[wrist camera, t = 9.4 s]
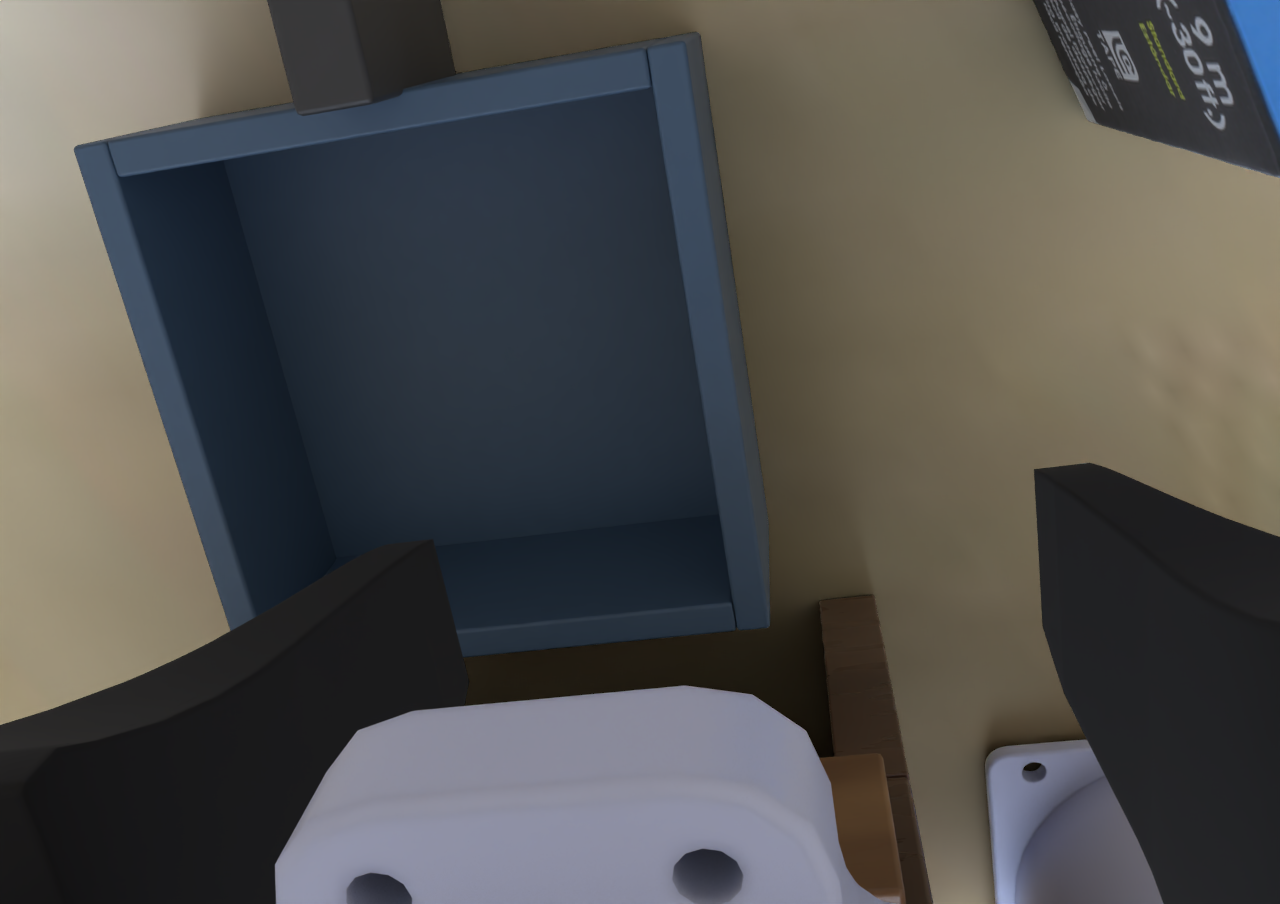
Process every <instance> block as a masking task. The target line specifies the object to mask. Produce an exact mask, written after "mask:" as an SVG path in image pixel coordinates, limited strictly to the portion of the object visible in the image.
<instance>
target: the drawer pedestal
mask: <svg viewBox="0 0 1280 904" xmlns="http://www.w3.org/2000/svg"><path fill="white" fill-rule="evenodd" d="M819 607H820V617H821V627H822V638H823V648H824V658H825V669H826V679H827V689H828V699H829V710H830V720H831V730H832V741H833V751H834V757H822V758H819V759H820V761H821V763H822V765H823V767H824V770H825V772H826V774H827V776H828V778H829V780H830V782H831V788H832V796H833V803H834V811H835V818H836V826H837V833H838V841H839V845H840V848H841V851H842V855H843V858H844V861H845V865H846V868H847V869H848V871H849V872H850V874H851V875H852V877H853V878H854V880H855V882H856V883H857V884H858V885H859V886H861V887H862V888H863V889H865V890H866V891H868V892H869V893H871V894H872V895H873V896H875V897H876V898H878V899H880V900H882V901H885V902H890V903H895V904H933V901H932V895H931V890H930V885H929V880H928V874H927V869H926V864H925V859H924V853H923V848H922V843H921V838H920V832H919V827H918V822H917V816H916V811H915V806H914V801H913V795H912V790H911V785H910V781H909V773H908V768H907V763H906V758H905V752H904V747H903V742H902V737H901V731H900V726H899V721H898V716H897V710H896V705H895V700H894V695H893V689H892V684H891V679H890V674H889V668H888V663H887V658H886V653H885V647H884V642H883V637H882V632H881V626H880V621H879V616H878V611H877V605H876V600H875V596H874V595H868V596H858V597H848V598H839V599H829V600H821V601H820V602H819Z"/></svg>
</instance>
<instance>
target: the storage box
mask: <svg viewBox="0 0 1280 904" xmlns="http://www.w3.org/2000/svg"><path fill="white" fill-rule="evenodd" d="M267 2H268V5H269V9H270V13H271V17H272V21H273V25H274V29H275V32H276V36H277V40H278V44H279V48H280V52H281V56H282V60H283V63H284V67H285V71H286V75H287V79H288V83H289V87H290V90H291V94H292V98H293V102H291V103H286V104H280V105H274V106H269V107H263V108H257V109H251V110H246V111H240V112H234V113H228V114H223V115H217V116H211V117H206V118H200V119H195V120H190V121H186V122H181V123H177V124H172V125H168V126H163V127H159V128H154V129H149V130H145V131H140V132H136V133H131V134H127V135H122V136H118V137H113V138H109V139H104V140H100V141H95V142H91V143H86V144H81V145H77V146H76V147H75V148H74V152H75V155H76V158H77V161H78V164H79V167H80V171H81V174H82V177H83V180H84V183H85V186H86V189H87V192H88V195H89V198H90V201H91V204H92V207H93V210H94V213H95V217H96V220H97V223H98V226H99V229H100V232H101V235H102V238H103V241H104V244H105V247H106V250H107V253H108V256H109V259H110V262H111V266H112V269H113V272H114V275H115V278H116V281H117V284H118V287H119V290H120V293H121V296H122V299H123V302H124V305H125V308H126V311H127V315H128V318H129V321H130V324H131V327H132V330H133V333H134V336H135V339H136V342H137V345H138V348H139V351H140V354H141V357H142V361H143V364H144V367H145V370H146V373H147V376H148V379H149V382H150V385H151V388H152V391H153V394H154V397H155V400H156V403H157V406H158V410H159V413H160V416H161V419H162V422H163V425H164V428H165V431H166V434H167V437H168V440H169V443H170V446H171V449H172V452H173V455H174V459H175V462H176V465H177V468H178V471H179V474H180V477H181V480H182V483H183V486H184V489H185V492H186V495H187V498H188V501H189V505H190V508H191V511H192V514H193V517H194V520H195V523H196V526H197V529H198V532H199V535H200V538H201V541H202V544H203V547H204V550H205V554H206V557H207V560H208V563H209V566H210V569H211V572H212V575H213V578H214V581H215V584H216V587H217V590H218V593H219V596H220V599H221V603H222V606H223V609H224V612H225V615H226V618H227V621H228V624H229V627H230V630H231V631H232V630H233V629H235V628H237V627H239V626H241V625H242V624H244V623H246V622H248V621H249V620H251V619H253V618H255V617H257V616H258V615H260V614H262V613H264V612H265V611H267V610H269V609H271V608H273V607H274V606H276V605H278V604H279V603H281V602H283V601H284V600H286V599H288V598H289V597H291V596H292V595H294V594H296V593H297V592H299V591H301V590H302V589H304V588H306V587H307V586H309V585H311V584H312V583H314V582H316V581H317V580H319V579H321V578H322V577H324V576H326V575H327V574H329V573H331V572H332V571H334V570H336V569H337V568H339V567H341V566H343V565H344V564H346V563H348V562H349V561H351V560H353V559H355V558H357V557H359V556H361V555H363V554H364V553H366V552H368V551H371V550H373V549H375V548H378V547H381V546H383V545H386V544H394V543H403V542H411V541H420V540H429V539H433V541H434V545H435V549H436V553H437V556H438V560H439V564H440V568H441V572H442V576H443V580H444V584H445V588H446V592H447V596H448V600H449V604H450V608H451V612H452V616H453V620H454V624H455V628H456V632H457V636H458V639H459V643H460V647H461V651H462V655H463V658H465V657H475V656H485V655H495V654H505V653H516V652H526V651H536V650H546V649H557V648H567V647H577V646H587V645H597V644H608V643H618V642H628V641H638V640H648V639H659V638H669V637H679V636H689V635H700V634H710V633H720V632H730V631H735V630H736V627H737V628H738V630H751V629H762V628H768V627H769V626H770V582H769V521H768V514H767V507H766V500H765V493H764V486H763V478H762V471H761V464H760V457H759V450H758V443H757V436H756V429H755V421H754V414H753V407H752V400H751V393H750V386H749V379H748V371H747V364H746V357H745V350H744V343H743V336H742V329H741V322H740V314H739V307H738V300H737V293H736V286H735V279H734V272H733V264H732V257H731V250H730V243H729V236H728V229H727V222H726V215H725V207H724V200H723V193H722V186H721V179H720V172H719V165H718V157H717V150H716V143H715V136H714V129H713V122H712V115H711V107H710V100H709V93H708V86H707V79H706V72H705V65H704V58H703V50H702V43H701V36H700V34H699V33H698V32H692V33H687V34H681V35H675V36H669V37H664V38H658V39H652V40H646V41H641V42H635V43H629V44H624V45H618V46H612V47H606V48H601V49H595V50H589V51H584V52H578V53H572V54H566V55H561V56H555V57H549V58H543V59H538V60H532V61H526V62H521V63H515V64H509V65H503V66H498V67H492V68H486V69H480V70H475V71H469V72H463V73H458V74H456V73H455V68H454V63H453V59H452V54H451V49H450V45H449V40H448V35H447V30H446V26H445V21H444V16H443V11H442V7H441V2H440V0H267Z"/></svg>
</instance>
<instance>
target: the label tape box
mask: <svg viewBox="0 0 1280 904" xmlns="http://www.w3.org/2000/svg"><path fill="white" fill-rule="evenodd" d="M1033 1H1034V3H1035V6H1036V8H1037V10H1038V13H1039V15H1040V17H1041V20H1042V22H1043V24H1044V26H1045V28H1046V30H1047V32H1048V35H1049V37H1050V40H1051V42H1052V44H1053V46H1054V48H1055V50H1056V53H1057V55H1058V58H1059V60H1060V62H1061V64H1062V67H1063V70H1064V72H1065V73H1066V75H1067V77H1068V79H1069V81H1070V83H1071V85H1072V87H1073V90H1074V92H1075V94H1076V96H1077V99H1078V101H1079V103H1080V105H1081V107H1082V109H1083V112H1084V114H1085V116H1086V119H1087V120H1088V121H1090V122H1093V123H1096V124H1099V125H1102V126H1106V127H1109V128H1113V129H1116V130H1119V131H1122V132H1126V133H1129V134H1133V135H1136V136H1140V137H1144V138H1147V139H1150V140H1152V141H1156V142H1160V143H1163V144H1166V145H1169V146H1172V147H1176V148H1181V149H1185V150H1188V151H1191V152H1194V153H1197V154H1200V155H1204V156H1207V157H1210V158H1214V159H1217V160H1221V161H1224V162H1226V163H1229V164H1233V165H1236V166H1240V167H1243V168H1247V169H1251V170H1254V171H1258V172H1261V173H1264V174H1266V175H1270V176H1274V177H1278V178H1280V0H1033Z"/></svg>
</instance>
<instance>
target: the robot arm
mask: <svg viewBox="0 0 1280 904" xmlns="http://www.w3.org/2000/svg"><path fill="white" fill-rule="evenodd" d="M1034 478H1035V496H1036V515H1037V533H1038V551H1039V569H1040V587H1041V606H1042V624H1043V629H1044V632H1045V635H1046V639H1047V642H1048V645H1049V648H1050V652H1051V655H1052V658H1053V661H1054V664H1055V667H1056V670H1057V673H1058V676H1059V679H1060V682H1061V685H1062V688H1063V691H1064V694H1065V696H1066V698H1067V700H1068V702H1069V704H1070V706H1071V709H1072V711H1073V713H1074V715H1075V717H1076V719H1077V721H1078V723H1079V725H1080V727H1081V729H1082V731H1083V733H1084V735H1085V737H1086V739H1085V740H1072V741H1060V742H1048V743H1036V744H1024V745H1012V746H1004V747H1000V748H997V749H995V750H994V751H992V752H991V753H990V754H989V756H988V757H987V759H986V762H985V775H986V788H987V800H988V813H989V826H990V839H991V852H992V864H993V877H994V890H995V903H996V904H1280V537H1278V536H1275V535H1272V534H1269V533H1266V532H1263V531H1260V530H1258V529H1255V528H1252V527H1249V526H1246V525H1243V524H1241V523H1238V522H1235V521H1232V520H1229V519H1227V518H1224V517H1222V516H1219V515H1216V514H1214V513H1211V512H1209V511H1206V510H1204V509H1201V508H1199V507H1196V506H1194V505H1192V504H1189V503H1187V502H1185V501H1182V500H1180V499H1178V498H1175V497H1173V496H1171V495H1168V494H1166V493H1164V492H1161V491H1159V490H1157V489H1155V488H1152V487H1150V486H1148V485H1146V484H1143V483H1141V482H1139V481H1137V480H1134V479H1132V478H1130V477H1127V476H1125V475H1123V474H1120V473H1118V472H1116V471H1113V470H1111V469H1108V468H1105V467H1102V466H1099V465H1096V464H1092V463H1085V464H1077V465H1068V466H1059V467H1051V468H1042V469H1034ZM468 685H469V679H468V675H467V671H466V667H465V663H464V659H463V655H462V651H461V647H460V643H459V639H458V636H457V632H456V628H455V624H454V620H453V616H452V612H451V608H450V604H449V600H448V596H447V592H446V588H445V584H444V580H443V576H442V572H441V568H440V564H439V560H438V556H437V553H436V549H435V545H434V541H433V539H429V540H420V541H411V542H403V543H394V544H386V545H383V546H381V547H378V548H375V549H373V550H371V551H368V552H366V553H364V554H363V555H361V556H359V557H357V558H355V559H353V560H351V561H349V562H348V563H346V564H344V565H343V566H341V567H339V568H337V569H336V570H334V571H332V572H331V573H329V574H327V575H326V576H324V577H322V578H321V579H319V580H317V581H316V582H314V583H312V584H311V585H309V586H307V587H306V588H304V589H302V590H301V591H299V592H297V593H296V594H294V595H292V596H291V597H289V598H288V599H286V600H284V601H283V602H281V603H279V604H278V605H276V606H274V607H273V608H271V609H269V610H267V611H265V612H264V613H262V614H260V615H258V616H257V617H255V618H253V619H251V620H249V621H248V622H246V623H244V624H242V625H241V626H239V627H237V628H235V629H233V630H232V631H230V632H228V633H226V634H224V635H223V636H221V637H219V638H217V639H216V640H214V641H212V642H210V643H208V644H206V645H204V646H202V647H200V648H198V649H196V650H194V651H192V652H190V653H188V654H186V655H184V656H182V657H180V658H178V659H176V660H174V661H171V662H169V663H167V664H165V665H163V666H160V667H158V668H156V669H154V670H151V671H149V672H147V673H145V674H143V675H140V676H138V677H136V678H133V679H131V680H128V681H126V682H124V683H121V684H118V685H116V686H113V687H110V688H107V689H105V690H102V691H99V692H97V693H94V694H91V695H88V696H86V697H83V698H80V699H78V700H75V701H72V702H70V703H67V704H64V705H61V706H59V707H56V708H53V709H50V710H47V711H44V712H41V713H38V714H35V715H31V716H28V717H25V718H22V719H18V720H15V721H12V722H9V723H5V724H2V725H0V904H895V903H890V902H885V901H882V900H880V899H878V898H876V897H875V896H873V895H872V894H871V893H869V892H868V891H866V890H865V889H863V888H862V887H861V886H859V885H858V884H857V883H856V882H855V880H854V878H853V877H852V875H851V874H850V872H849V871H848V869H847V868H846V865H845V861H844V858H843V855H842V851H841V848H840V845H839V841H838V833H837V826H836V818H835V811H834V803H833V796H832V788H831V782H830V780H829V778H828V776H827V774H826V772H825V770H824V767H823V765H822V763H821V761H820V759H819V757H818V755H817V753H816V751H815V748H814V746H813V744H812V742H811V740H810V738H809V736H808V734H807V731H806V730H804V729H803V728H801V727H800V726H798V725H797V724H795V723H794V722H793V721H791V720H790V719H788V718H787V717H785V716H784V715H782V714H781V713H779V712H778V711H776V710H775V709H773V708H772V707H770V706H769V705H767V704H766V703H764V702H763V701H761V700H760V699H758V698H757V697H755V696H754V695H753V694H745V693H738V692H730V691H723V690H715V689H708V688H700V687H693V686H674V687H663V688H653V689H642V690H631V691H620V692H610V693H599V694H588V695H578V696H567V697H556V698H545V699H535V700H524V701H513V702H503V703H492V704H481V705H470V706H464V704H465V700H466V695H467V690H468ZM1033 762H1035V763H1040V764H1042V765H1041V766H1040V767H1039V768H1038V769H1037V770H1034V771H1024V770H1023V768H1024V767H1025V766H1026V765H1027V764H1029V763H1033Z"/></svg>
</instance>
